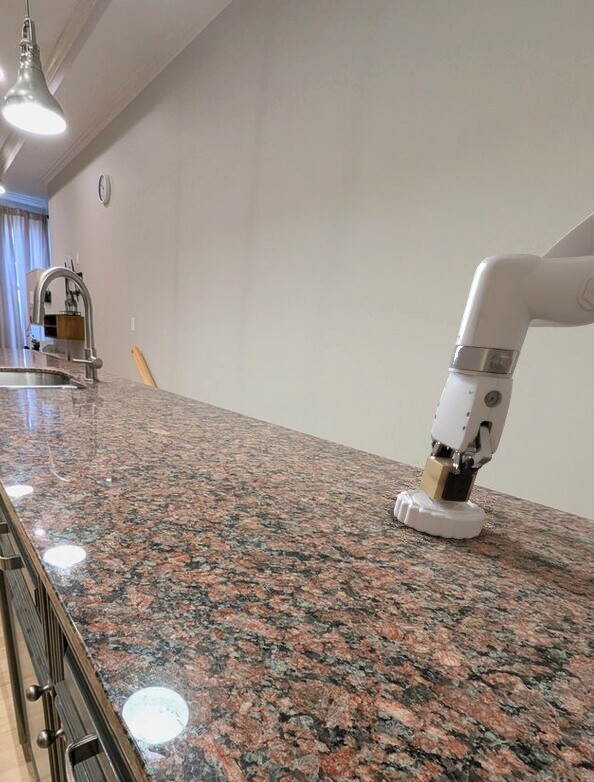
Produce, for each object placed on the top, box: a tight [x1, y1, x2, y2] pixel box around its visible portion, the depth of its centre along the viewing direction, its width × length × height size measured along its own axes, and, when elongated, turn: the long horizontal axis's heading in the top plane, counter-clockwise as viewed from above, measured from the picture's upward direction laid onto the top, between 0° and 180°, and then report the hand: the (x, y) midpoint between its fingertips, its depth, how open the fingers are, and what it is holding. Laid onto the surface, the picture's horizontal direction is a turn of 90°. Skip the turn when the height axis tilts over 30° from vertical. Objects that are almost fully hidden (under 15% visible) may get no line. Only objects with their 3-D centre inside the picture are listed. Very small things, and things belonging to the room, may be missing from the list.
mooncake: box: [393, 488, 487, 540], centre depth 66 cm, size 12×12×4 cm
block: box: [418, 455, 479, 502], centre depth 64 cm, size 5×5×5 cm
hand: (443, 492), depth 65 cm, fingers closed on block, 5 cm apart
